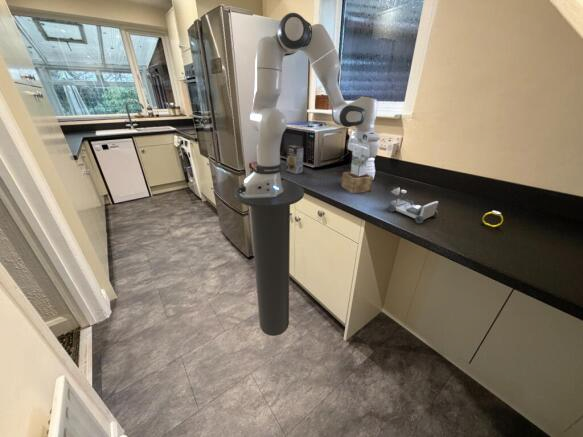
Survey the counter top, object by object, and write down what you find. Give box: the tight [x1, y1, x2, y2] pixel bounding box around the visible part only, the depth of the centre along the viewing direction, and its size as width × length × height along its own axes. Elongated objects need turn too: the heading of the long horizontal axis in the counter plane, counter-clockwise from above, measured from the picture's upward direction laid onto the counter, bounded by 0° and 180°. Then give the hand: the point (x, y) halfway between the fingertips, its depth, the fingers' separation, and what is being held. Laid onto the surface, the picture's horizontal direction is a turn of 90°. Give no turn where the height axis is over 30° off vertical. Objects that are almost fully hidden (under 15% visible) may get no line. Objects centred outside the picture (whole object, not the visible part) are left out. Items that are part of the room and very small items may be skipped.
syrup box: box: [349, 145, 367, 176], centre depth 118 cm, size 6×6×14 cm
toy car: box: [388, 186, 439, 224], centre depth 98 cm, size 18×10×12 cm
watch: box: [481, 210, 504, 228], centre depth 90 cm, size 6×3×6 cm, turn 48°
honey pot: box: [366, 157, 376, 181], centre depth 138 cm, size 13×13×18 cm
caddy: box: [340, 171, 374, 194], centre depth 123 cm, size 11×11×8 cm
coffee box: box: [286, 144, 304, 175], centre depth 148 cm, size 9×6×16 cm
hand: (359, 162), depth 118 cm, fingers closed on syrup box, 6 cm apart
